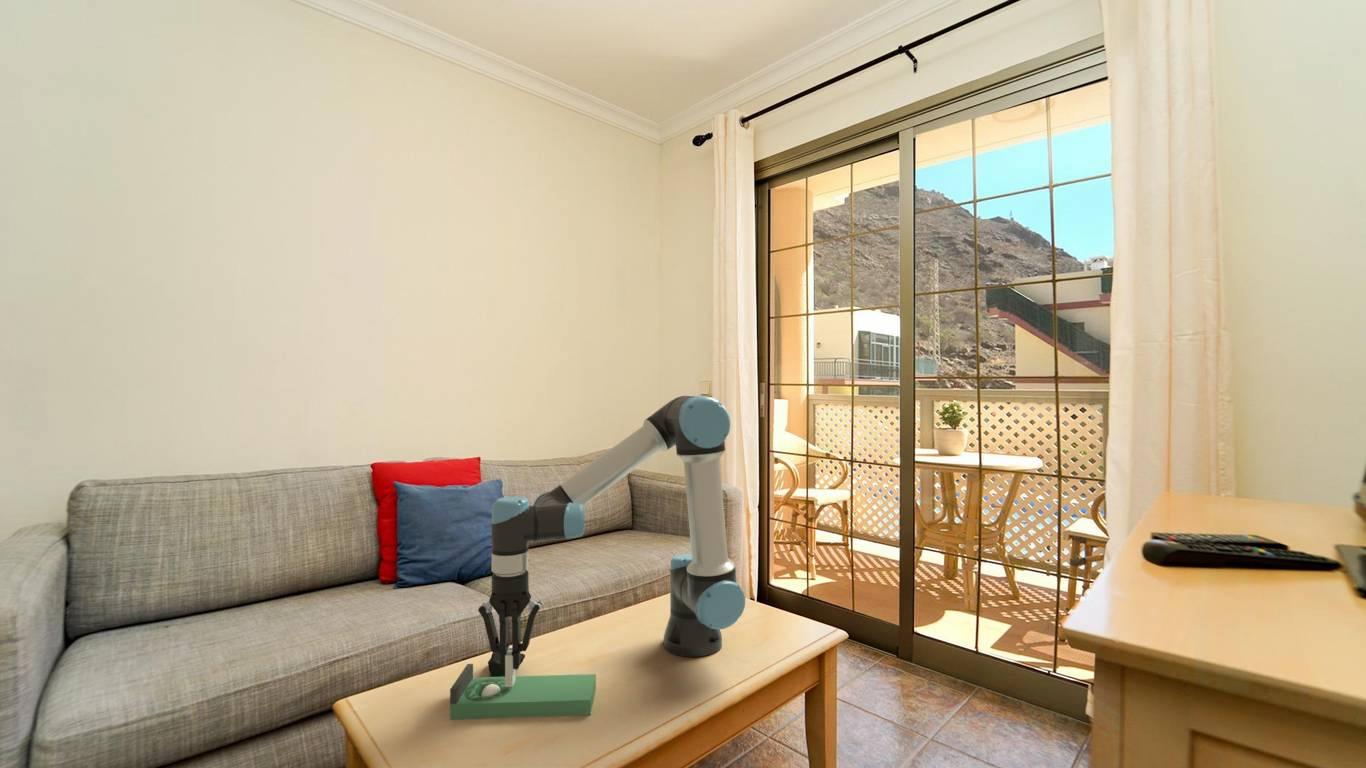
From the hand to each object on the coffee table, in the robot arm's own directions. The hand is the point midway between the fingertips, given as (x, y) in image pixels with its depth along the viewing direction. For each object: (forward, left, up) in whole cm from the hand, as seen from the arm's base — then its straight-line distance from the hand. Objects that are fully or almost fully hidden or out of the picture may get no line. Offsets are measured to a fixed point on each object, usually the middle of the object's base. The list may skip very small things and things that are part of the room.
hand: (510, 683), depth 124 cm
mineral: (+4, -14, -5) cm, 15 cm away
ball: (+4, 0, -2) cm, 4 cm away
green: (-3, 0, -4) cm, 5 cm away
